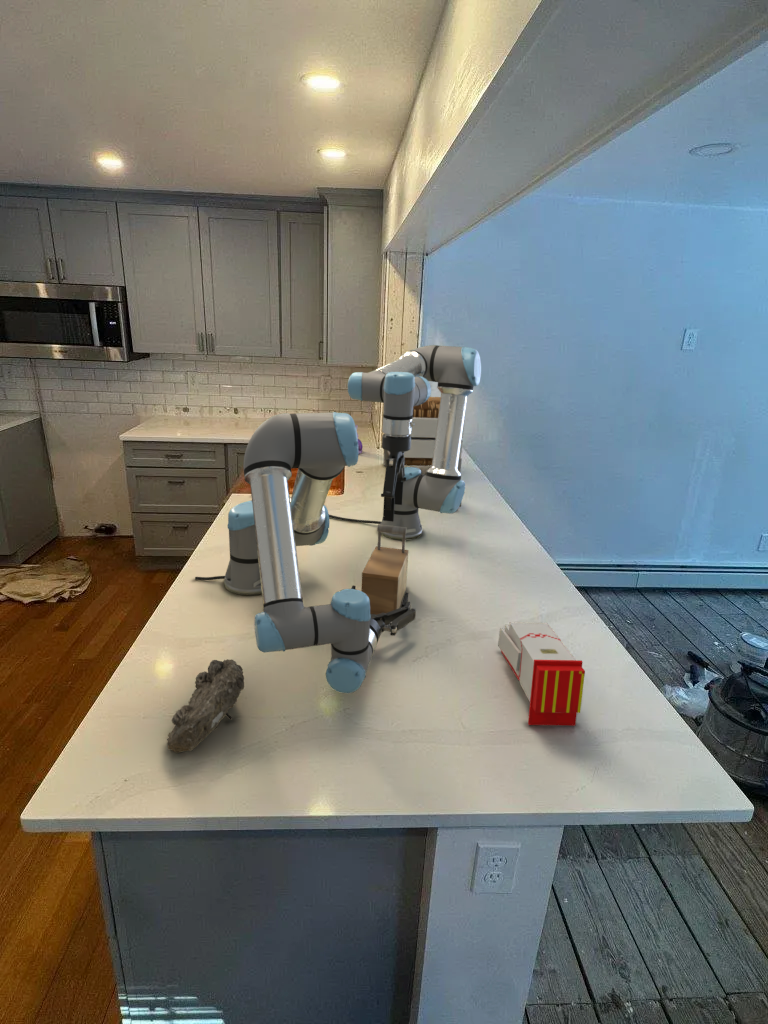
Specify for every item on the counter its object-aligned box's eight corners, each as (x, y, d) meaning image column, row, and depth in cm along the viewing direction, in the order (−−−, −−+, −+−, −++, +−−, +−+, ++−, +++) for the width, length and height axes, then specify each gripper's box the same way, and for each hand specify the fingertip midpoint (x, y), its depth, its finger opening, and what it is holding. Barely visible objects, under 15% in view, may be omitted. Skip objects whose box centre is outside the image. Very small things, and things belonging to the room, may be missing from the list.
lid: (375, 549, 160) (376, 521, 157) (408, 553, 158) (410, 525, 155) (361, 576, 143) (362, 545, 140) (398, 580, 142) (399, 550, 139)
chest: (374, 584, 163) (375, 550, 159) (406, 588, 161) (408, 554, 158) (360, 613, 147) (361, 576, 143) (396, 618, 145) (398, 581, 142)
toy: (544, 607, 134) (594, 667, 105) (539, 659, 137) (586, 732, 108) (493, 606, 134) (529, 666, 105) (489, 658, 137) (523, 731, 107)
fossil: (192, 660, 117) (244, 628, 112) (224, 691, 120) (276, 661, 115) (142, 746, 98) (202, 712, 93) (182, 779, 101) (242, 748, 96)
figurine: (350, 455, 301) (351, 427, 296) (342, 451, 309) (343, 423, 304) (366, 454, 305) (367, 426, 300) (358, 449, 314) (359, 423, 309)
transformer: (382, 463, 289) (386, 382, 275) (445, 464, 293) (451, 384, 279) (390, 482, 257) (394, 392, 243) (460, 483, 261) (468, 394, 247)
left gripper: (306, 645, 127) (332, 600, 147) (416, 661, 123) (428, 613, 143) (306, 615, 125) (332, 574, 144) (418, 631, 120) (430, 586, 140)
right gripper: (403, 446, 133) (399, 529, 140) (417, 426, 156) (413, 499, 164) (372, 443, 135) (369, 526, 142) (391, 424, 158) (387, 496, 165)
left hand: (380, 593), depth 143 cm, fingers open, 13 cm apart
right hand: (392, 512), depth 153 cm, fingers open, 13 cm apart
